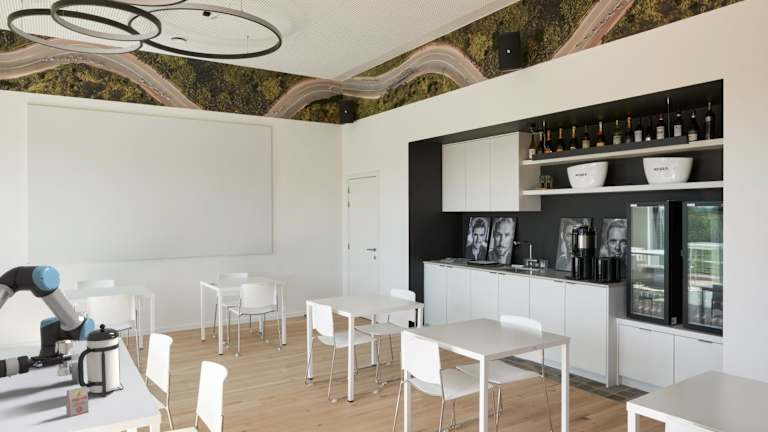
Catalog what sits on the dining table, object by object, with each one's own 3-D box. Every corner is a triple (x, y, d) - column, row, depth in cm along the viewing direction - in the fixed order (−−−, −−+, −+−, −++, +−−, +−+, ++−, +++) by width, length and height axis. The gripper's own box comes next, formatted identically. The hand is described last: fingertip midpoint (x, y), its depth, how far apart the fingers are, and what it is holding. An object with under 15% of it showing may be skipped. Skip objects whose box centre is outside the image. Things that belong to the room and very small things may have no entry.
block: (77, 384, 239) (77, 367, 239) (72, 380, 246) (71, 363, 246) (83, 383, 241) (82, 366, 241) (77, 379, 247) (77, 362, 247)
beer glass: (77, 372, 242) (76, 340, 241) (63, 377, 235) (62, 344, 235) (66, 371, 244) (65, 339, 244) (52, 375, 237) (51, 343, 237)
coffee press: (84, 389, 232) (82, 322, 232) (124, 384, 238) (122, 318, 238) (78, 403, 216) (76, 330, 216) (122, 396, 222) (119, 326, 222)
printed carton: (66, 414, 204) (65, 389, 204) (85, 409, 209) (85, 385, 208) (69, 417, 201) (68, 391, 201) (88, 412, 206) (87, 387, 206)
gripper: (13, 369, 234) (71, 358, 250) (22, 379, 220) (83, 366, 236) (12, 353, 234) (70, 342, 250) (21, 361, 220) (82, 350, 236)
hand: (76, 354), depth 243 cm, fingers closed on beer glass, 7 cm apart
